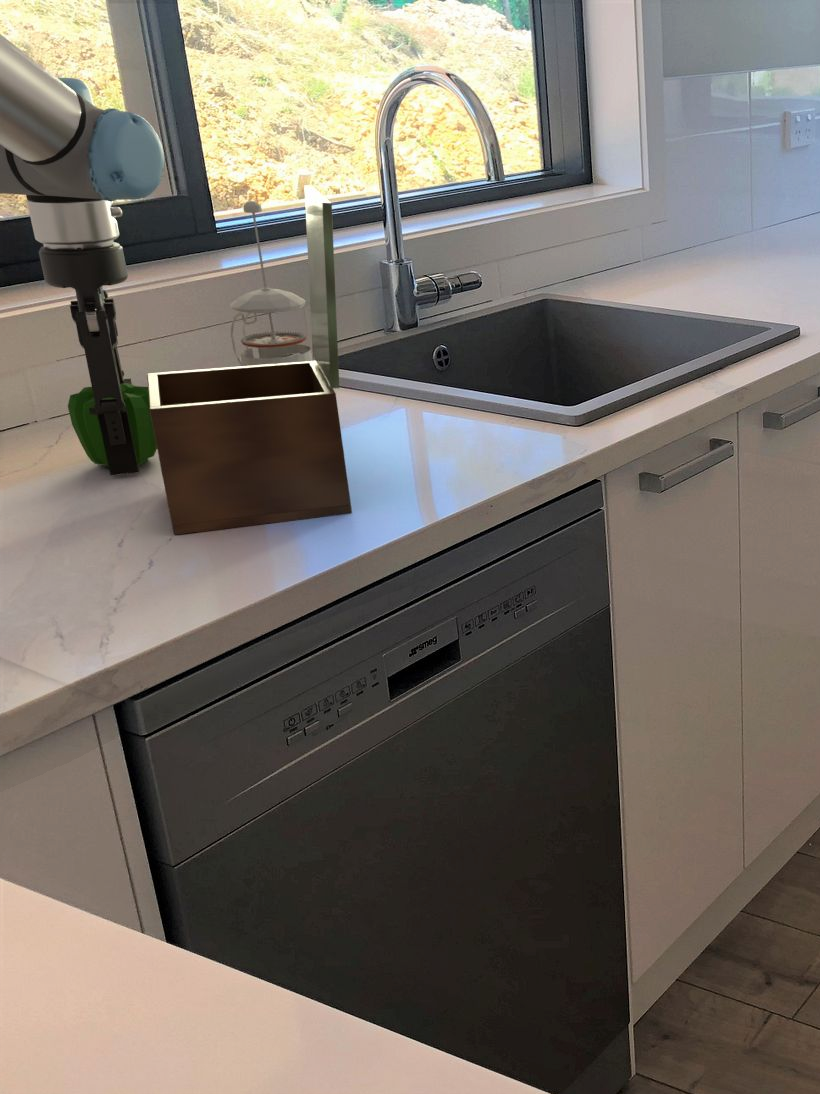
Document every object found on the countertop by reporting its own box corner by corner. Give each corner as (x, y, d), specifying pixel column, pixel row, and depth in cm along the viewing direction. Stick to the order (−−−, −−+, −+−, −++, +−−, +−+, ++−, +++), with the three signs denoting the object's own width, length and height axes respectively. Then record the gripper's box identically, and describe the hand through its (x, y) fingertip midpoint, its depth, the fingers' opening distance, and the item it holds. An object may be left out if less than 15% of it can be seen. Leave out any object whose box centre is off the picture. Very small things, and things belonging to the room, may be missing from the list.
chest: (173, 535, 129) (149, 409, 124) (169, 489, 141) (147, 373, 136) (352, 513, 135) (335, 393, 130) (333, 472, 147) (317, 360, 142)
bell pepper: (103, 451, 152) (83, 361, 148) (179, 452, 153) (161, 361, 149) (65, 474, 145) (43, 379, 141) (145, 474, 145) (126, 379, 141)
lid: (322, 202, 124) (331, 203, 124) (304, 185, 136) (313, 185, 136) (330, 388, 130) (339, 388, 130) (312, 355, 142) (321, 356, 142)
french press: (279, 434, 160) (241, 208, 149) (215, 420, 165) (174, 201, 155) (348, 416, 167) (316, 199, 157) (284, 402, 173) (250, 192, 163)
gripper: (121, 256, 132) (165, 484, 141) (121, 227, 150) (161, 432, 159) (31, 261, 129) (82, 493, 138) (42, 231, 147) (87, 439, 156)
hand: (124, 460), depth 149 cm, fingers closed on bell pepper, 8 cm apart
